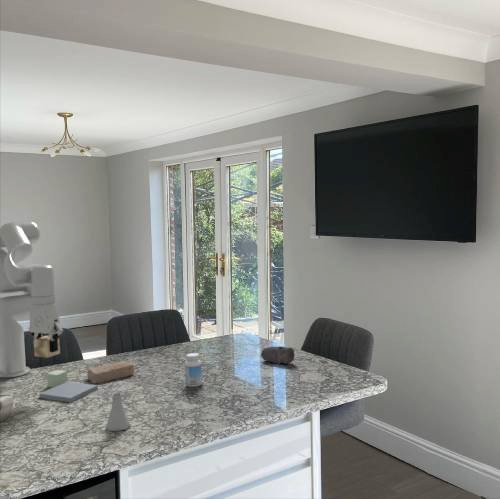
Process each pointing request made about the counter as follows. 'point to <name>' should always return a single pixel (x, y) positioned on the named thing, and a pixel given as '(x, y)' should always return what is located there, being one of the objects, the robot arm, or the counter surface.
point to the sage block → (56, 378)
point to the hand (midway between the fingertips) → (46, 350)
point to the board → (68, 391)
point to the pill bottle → (193, 370)
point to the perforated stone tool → (278, 355)
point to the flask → (117, 415)
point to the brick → (110, 371)
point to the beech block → (44, 347)
